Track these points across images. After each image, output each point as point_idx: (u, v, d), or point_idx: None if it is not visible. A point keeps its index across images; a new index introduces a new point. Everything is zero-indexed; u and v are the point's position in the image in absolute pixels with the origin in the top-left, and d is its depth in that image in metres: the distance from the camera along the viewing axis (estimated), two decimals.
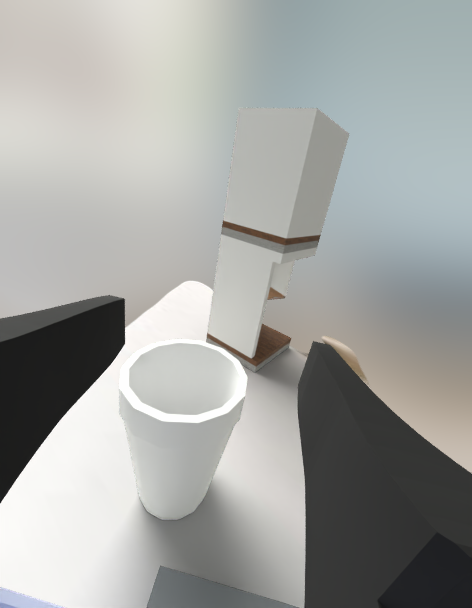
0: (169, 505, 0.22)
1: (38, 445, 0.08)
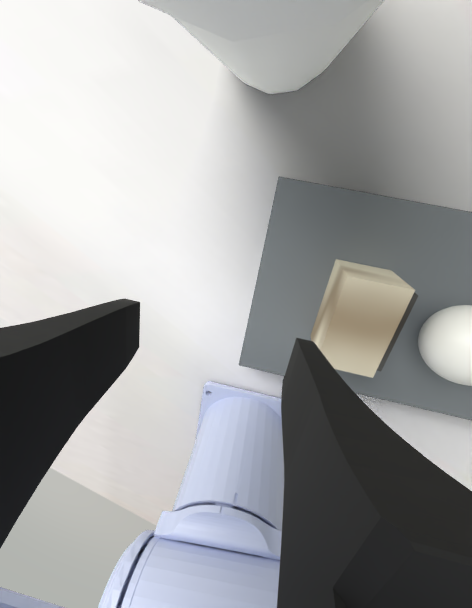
0: (279, 85, 0.12)
1: (57, 450, 0.07)
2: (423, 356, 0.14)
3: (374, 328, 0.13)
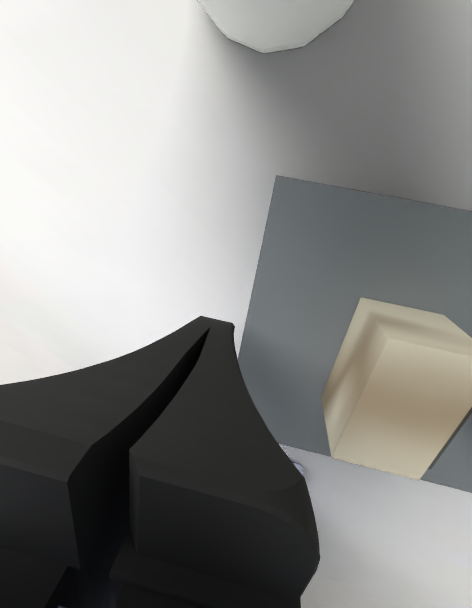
0: (277, 25, 0.08)
1: None
2: None
3: (428, 415, 0.08)
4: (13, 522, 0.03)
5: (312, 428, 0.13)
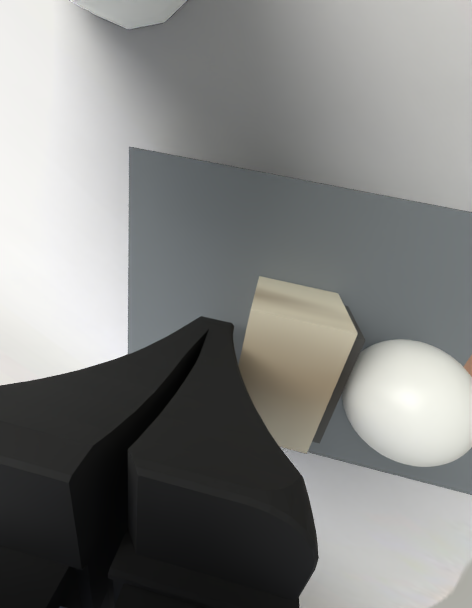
0: None
1: None
2: None
3: (301, 386, 0.09)
4: (14, 523, 0.03)
5: None
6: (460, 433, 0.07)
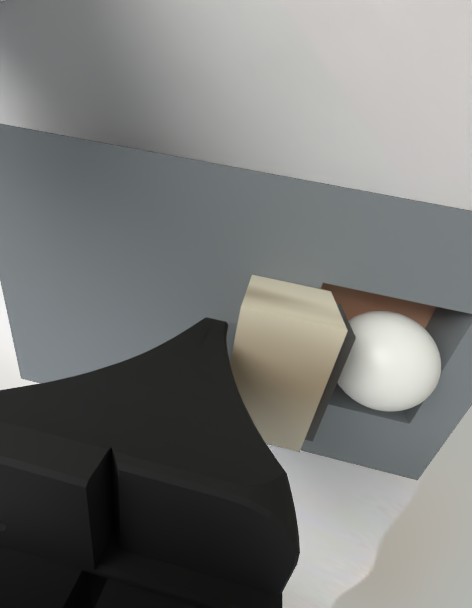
0: None
1: None
2: None
3: (293, 384, 0.09)
4: (29, 527, 0.03)
5: None
6: None
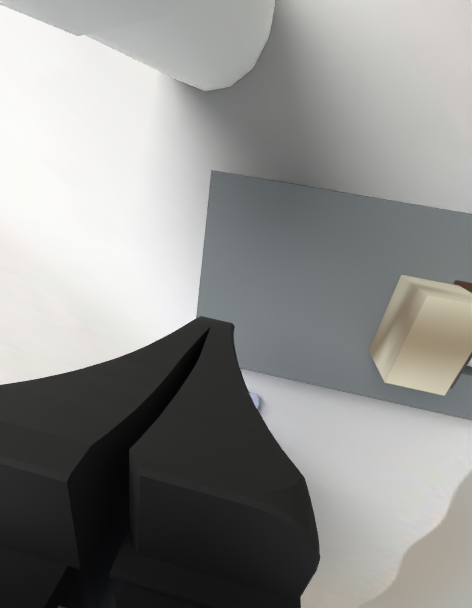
0: (203, 81, 0.13)
1: None
2: None
3: (451, 346, 0.13)
4: (13, 522, 0.03)
5: (254, 352, 0.18)
6: None
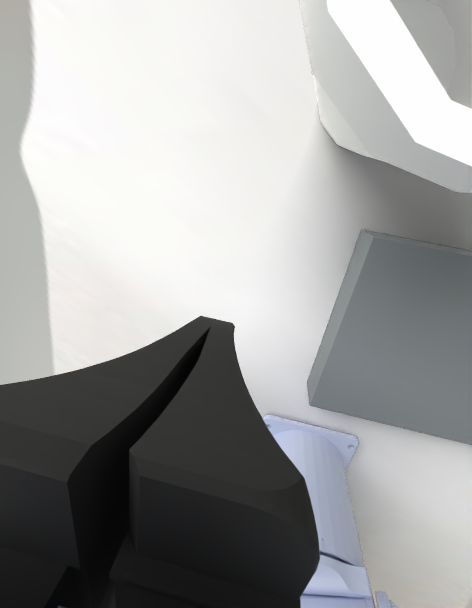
0: None
1: None
2: None
3: None
4: (13, 522, 0.03)
5: (377, 403, 0.19)
6: None
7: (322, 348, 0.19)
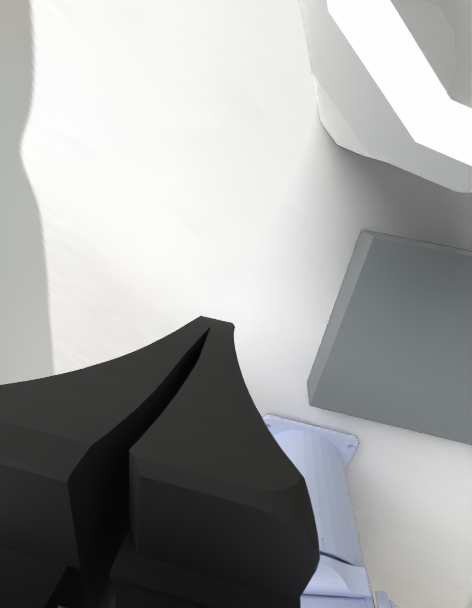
0: None
1: None
2: None
3: None
4: (13, 522, 0.03)
5: (377, 403, 0.19)
6: None
7: (322, 348, 0.19)
